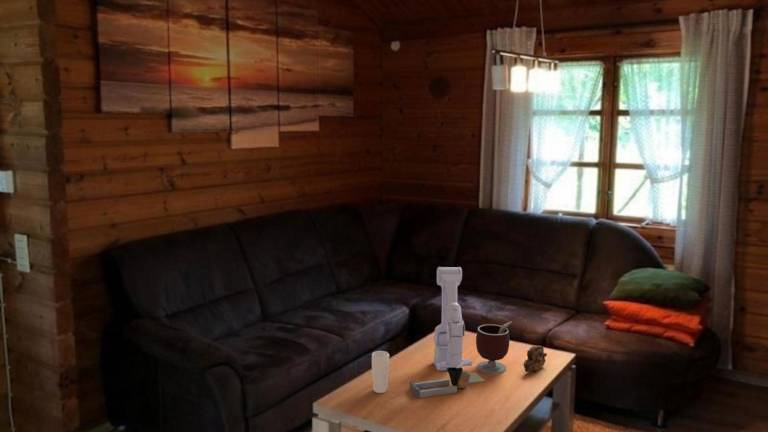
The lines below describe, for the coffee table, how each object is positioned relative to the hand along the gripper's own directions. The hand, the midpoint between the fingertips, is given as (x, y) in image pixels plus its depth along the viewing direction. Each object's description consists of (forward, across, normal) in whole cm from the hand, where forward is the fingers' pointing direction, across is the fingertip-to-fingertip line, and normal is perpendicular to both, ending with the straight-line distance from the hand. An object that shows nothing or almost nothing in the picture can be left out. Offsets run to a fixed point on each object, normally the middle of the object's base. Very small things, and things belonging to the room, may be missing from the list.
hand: (453, 384), depth 248 cm
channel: (+1, -8, 0) cm, 8 cm away
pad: (+1, +10, +6) cm, 12 cm away
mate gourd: (+2, +24, +13) cm, 28 cm away
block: (+1, +2, 0) cm, 3 cm away
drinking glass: (+2, -28, +6) cm, 29 cm away
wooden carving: (+2, +41, +6) cm, 41 cm away
